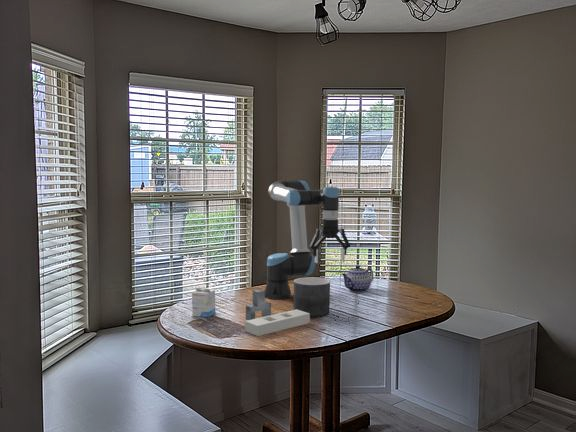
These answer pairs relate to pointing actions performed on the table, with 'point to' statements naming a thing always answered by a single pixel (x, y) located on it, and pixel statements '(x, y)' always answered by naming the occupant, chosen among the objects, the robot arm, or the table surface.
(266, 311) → the clip
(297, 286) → the dark gray cylinder
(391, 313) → the table surface
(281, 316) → the rail
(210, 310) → the ink box
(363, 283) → the teapot
